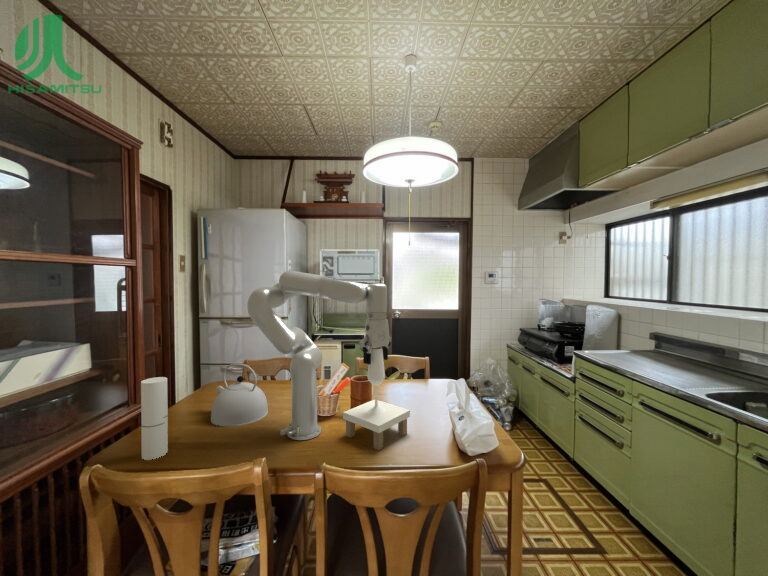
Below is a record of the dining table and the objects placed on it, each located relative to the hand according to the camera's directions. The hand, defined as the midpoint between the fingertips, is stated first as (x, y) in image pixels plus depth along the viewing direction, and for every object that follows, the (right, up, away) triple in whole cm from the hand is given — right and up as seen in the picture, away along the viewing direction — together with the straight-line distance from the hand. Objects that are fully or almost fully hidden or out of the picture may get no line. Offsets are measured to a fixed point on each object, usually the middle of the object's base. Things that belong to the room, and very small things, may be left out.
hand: (375, 361), depth 122 cm
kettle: (-61, -28, +19) cm, 70 cm away
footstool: (0, -28, 0) cm, 28 cm away
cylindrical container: (-74, -28, -14) cm, 80 cm away
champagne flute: (0, -19, 0) cm, 19 cm away
